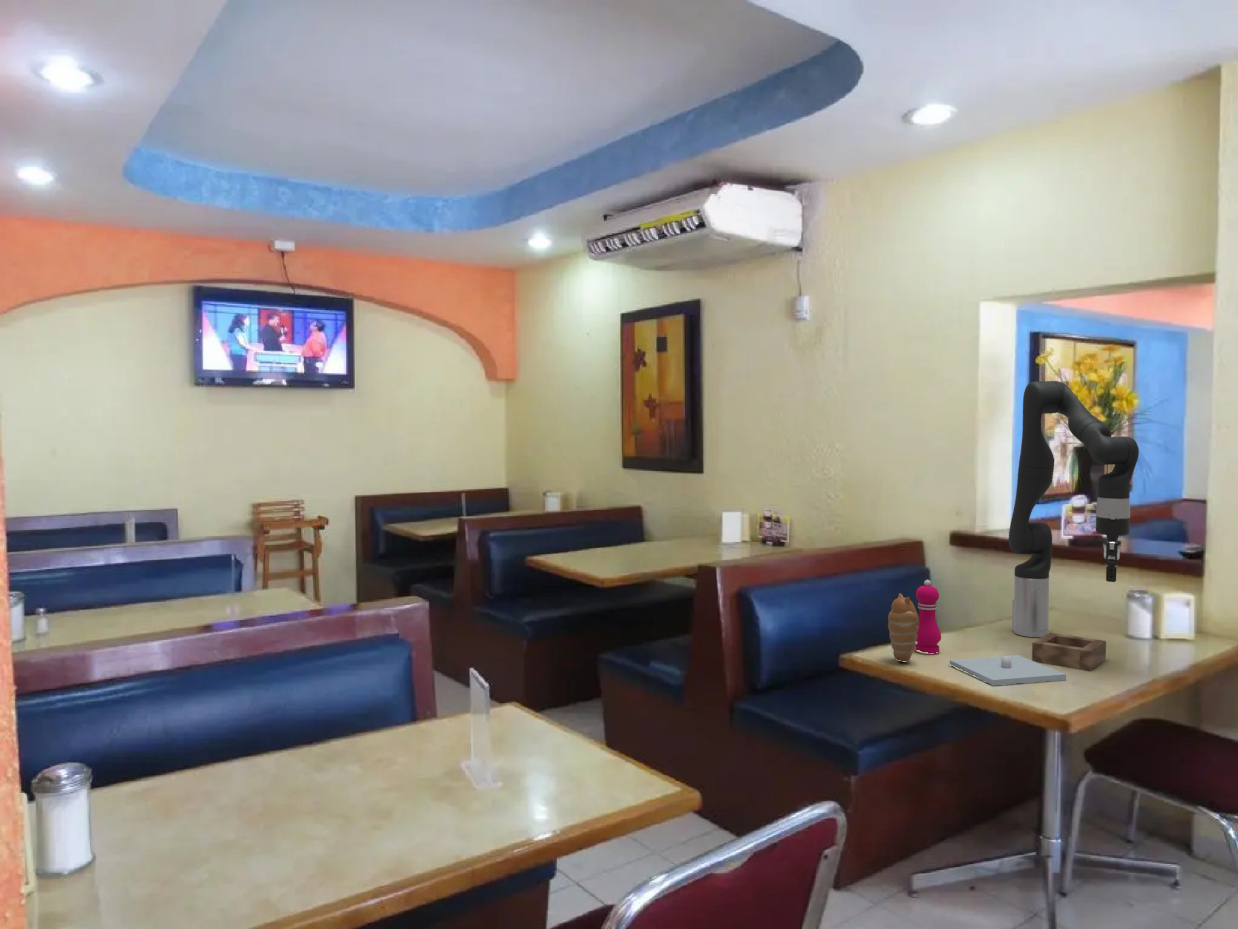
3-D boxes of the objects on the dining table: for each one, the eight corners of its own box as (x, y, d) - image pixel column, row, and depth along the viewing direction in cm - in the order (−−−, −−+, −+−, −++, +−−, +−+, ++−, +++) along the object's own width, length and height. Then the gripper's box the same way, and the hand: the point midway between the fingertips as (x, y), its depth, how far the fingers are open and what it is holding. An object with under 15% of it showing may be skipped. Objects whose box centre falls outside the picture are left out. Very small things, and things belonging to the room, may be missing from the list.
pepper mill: (920, 646, 245) (921, 576, 244) (945, 651, 240) (946, 579, 239) (908, 651, 240) (908, 580, 239) (933, 656, 235) (934, 583, 234)
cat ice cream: (924, 666, 226) (925, 597, 225) (896, 667, 225) (896, 598, 224) (908, 657, 235) (908, 591, 234) (881, 658, 233) (881, 592, 232)
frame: (1032, 661, 229) (1032, 642, 229) (1049, 650, 239) (1049, 632, 239) (1090, 671, 220) (1090, 651, 219) (1105, 659, 230) (1106, 641, 229)
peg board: (949, 665, 226) (949, 650, 226) (1017, 660, 230) (1018, 645, 230) (992, 686, 208) (993, 669, 208) (1065, 680, 212) (1066, 664, 212)
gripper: (1096, 511, 228) (1095, 572, 229) (1095, 517, 216) (1093, 582, 217) (1129, 512, 224) (1128, 574, 225) (1130, 519, 212) (1128, 585, 213)
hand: (1111, 578), depth 221 cm, fingers open, 8 cm apart
